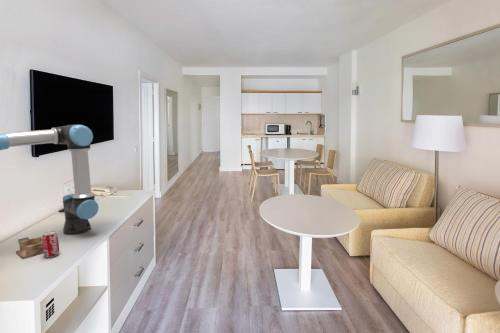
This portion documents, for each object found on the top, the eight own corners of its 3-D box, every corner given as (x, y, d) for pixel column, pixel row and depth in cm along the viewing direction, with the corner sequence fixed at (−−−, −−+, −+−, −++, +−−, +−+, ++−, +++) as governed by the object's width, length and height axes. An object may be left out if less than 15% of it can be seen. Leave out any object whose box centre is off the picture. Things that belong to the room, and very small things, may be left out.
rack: (45, 244, 188) (44, 235, 187) (53, 250, 180) (52, 240, 179) (16, 253, 178) (14, 243, 177) (23, 259, 170) (21, 248, 169)
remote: (18, 242, 194) (17, 238, 194) (27, 240, 197) (27, 236, 197) (27, 249, 183) (27, 245, 183) (36, 246, 187) (36, 242, 186)
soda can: (62, 252, 177) (59, 230, 175) (57, 257, 171) (54, 234, 169) (47, 253, 176) (44, 231, 174) (41, 259, 169) (38, 236, 167)
